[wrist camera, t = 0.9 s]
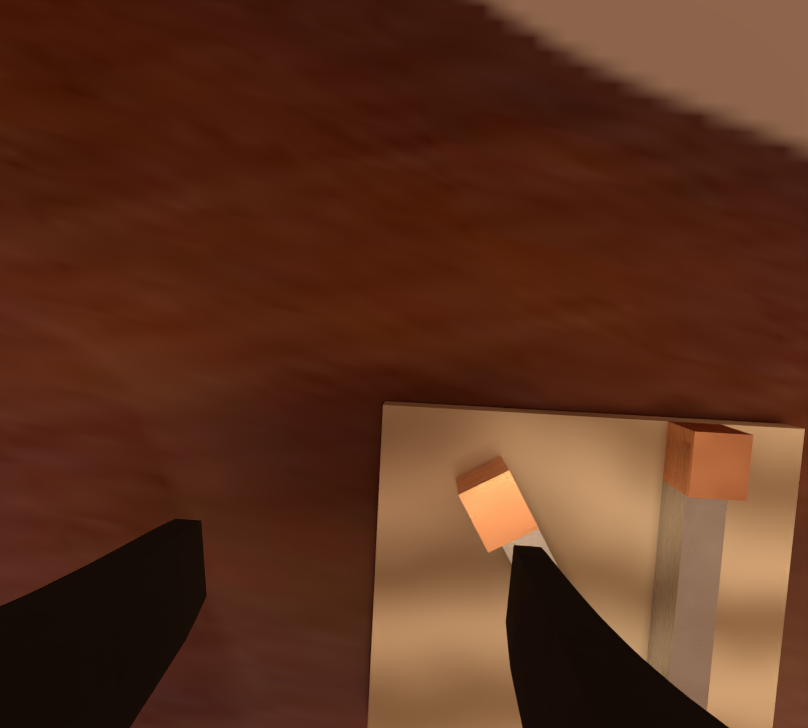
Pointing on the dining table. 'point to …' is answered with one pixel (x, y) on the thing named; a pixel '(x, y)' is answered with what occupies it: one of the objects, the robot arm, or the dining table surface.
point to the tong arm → (498, 509)
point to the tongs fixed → (693, 548)
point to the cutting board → (559, 555)
